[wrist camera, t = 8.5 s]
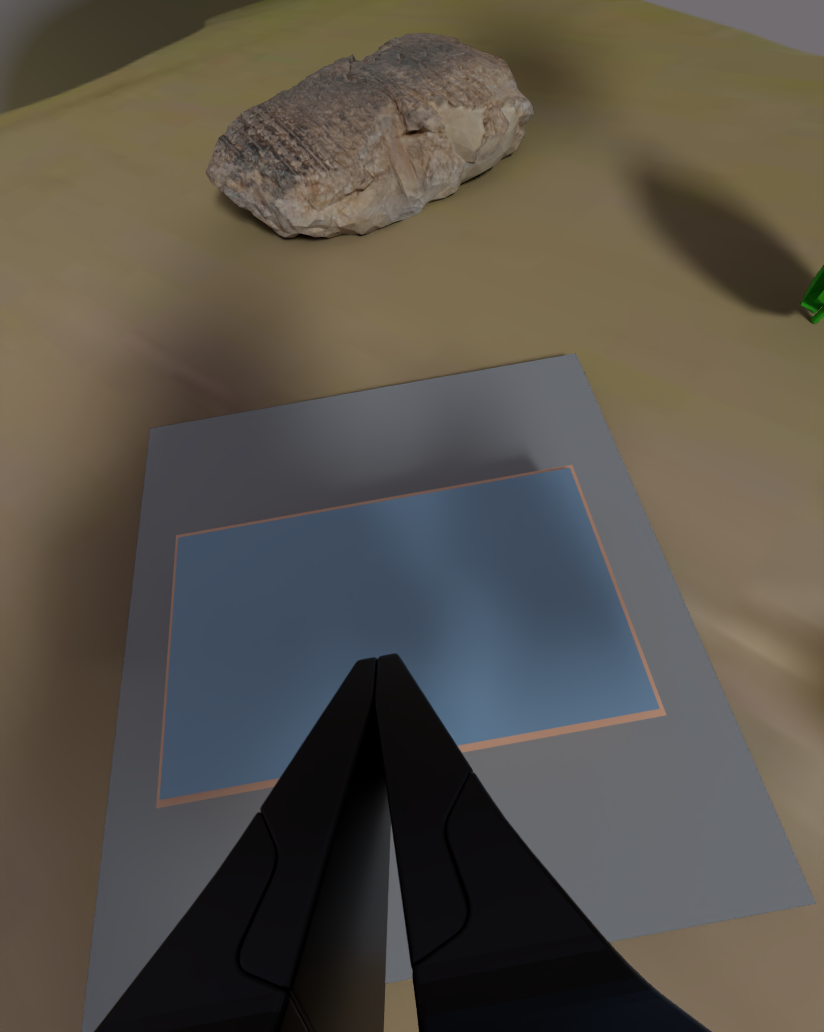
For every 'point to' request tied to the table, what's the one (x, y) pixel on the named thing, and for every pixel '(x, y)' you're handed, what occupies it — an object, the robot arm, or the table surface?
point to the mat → (502, 769)
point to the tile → (395, 626)
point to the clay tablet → (372, 137)
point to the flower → (815, 297)
